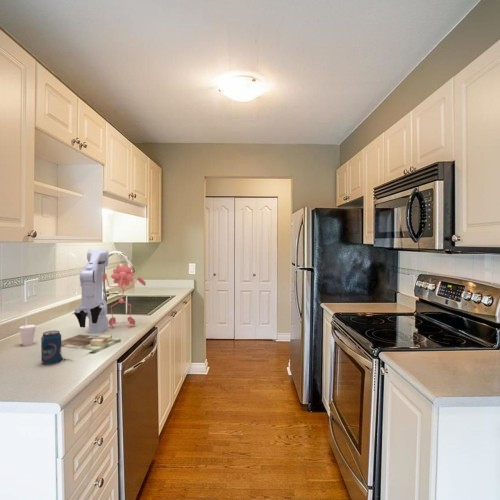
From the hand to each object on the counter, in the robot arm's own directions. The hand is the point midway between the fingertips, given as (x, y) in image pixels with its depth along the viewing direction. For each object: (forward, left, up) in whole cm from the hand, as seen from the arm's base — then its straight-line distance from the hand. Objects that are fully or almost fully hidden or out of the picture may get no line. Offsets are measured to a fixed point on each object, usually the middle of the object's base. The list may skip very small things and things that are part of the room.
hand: (88, 325), depth 156 cm
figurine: (-35, -7, -10) cm, 37 cm away
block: (0, +7, -8) cm, 10 cm away
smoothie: (+11, -23, -10) cm, 28 cm away
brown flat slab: (0, -1, -9) cm, 9 cm away
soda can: (+22, +2, -10) cm, 24 cm away
